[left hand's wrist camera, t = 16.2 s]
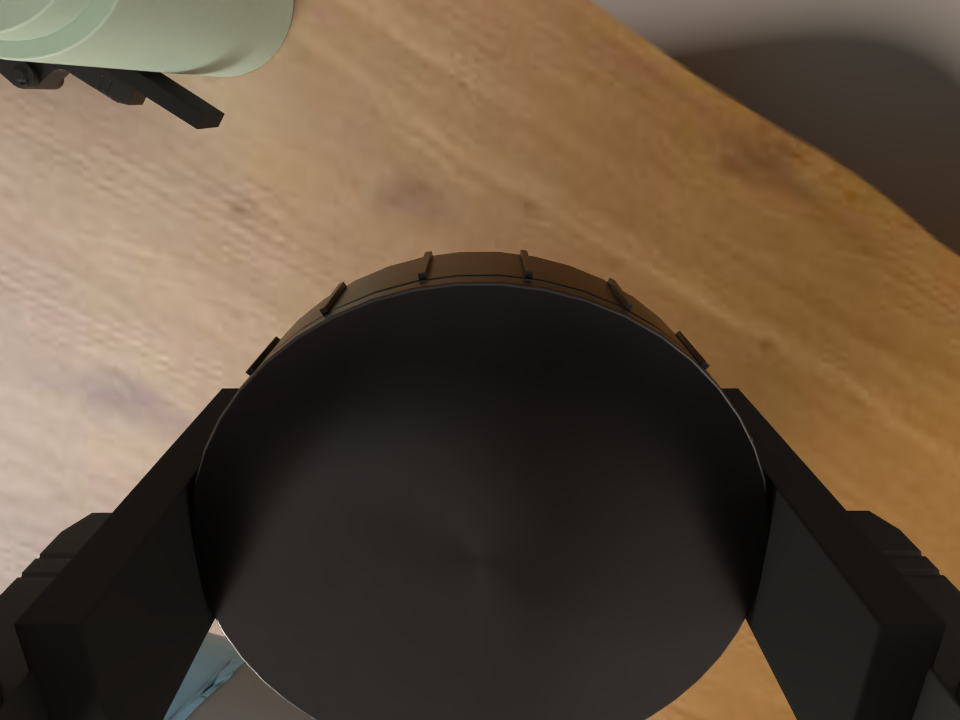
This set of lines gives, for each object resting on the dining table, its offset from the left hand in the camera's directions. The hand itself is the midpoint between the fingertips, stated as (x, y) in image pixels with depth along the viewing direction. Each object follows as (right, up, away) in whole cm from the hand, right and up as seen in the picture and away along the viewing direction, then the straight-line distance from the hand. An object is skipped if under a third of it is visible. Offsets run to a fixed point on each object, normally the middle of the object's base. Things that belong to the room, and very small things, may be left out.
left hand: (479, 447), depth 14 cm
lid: (0, -1, -3) cm, 3 cm away
